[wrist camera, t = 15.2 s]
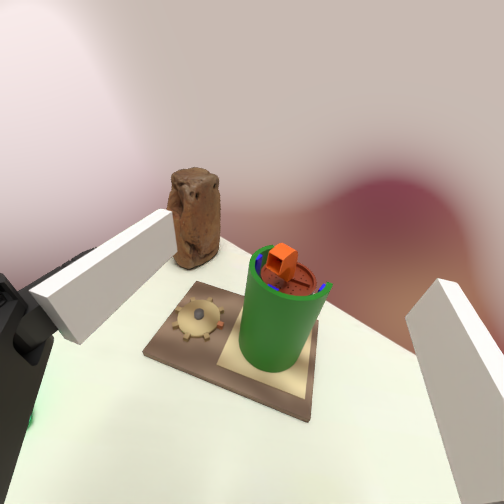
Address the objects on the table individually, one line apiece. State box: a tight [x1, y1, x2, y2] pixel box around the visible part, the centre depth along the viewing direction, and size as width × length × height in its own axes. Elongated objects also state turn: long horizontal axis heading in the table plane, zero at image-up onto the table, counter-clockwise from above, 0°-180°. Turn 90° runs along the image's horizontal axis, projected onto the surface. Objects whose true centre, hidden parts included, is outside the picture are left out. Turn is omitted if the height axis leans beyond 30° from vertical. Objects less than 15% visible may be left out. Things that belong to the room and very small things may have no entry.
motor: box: [239, 243, 333, 373], centre depth 29 cm, size 10×9×20 cm
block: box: [167, 167, 221, 269], centre depth 47 cm, size 11×8×20 cm
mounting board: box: [142, 281, 319, 423], centre depth 36 cm, size 16×25×3 cm, turn 72°
